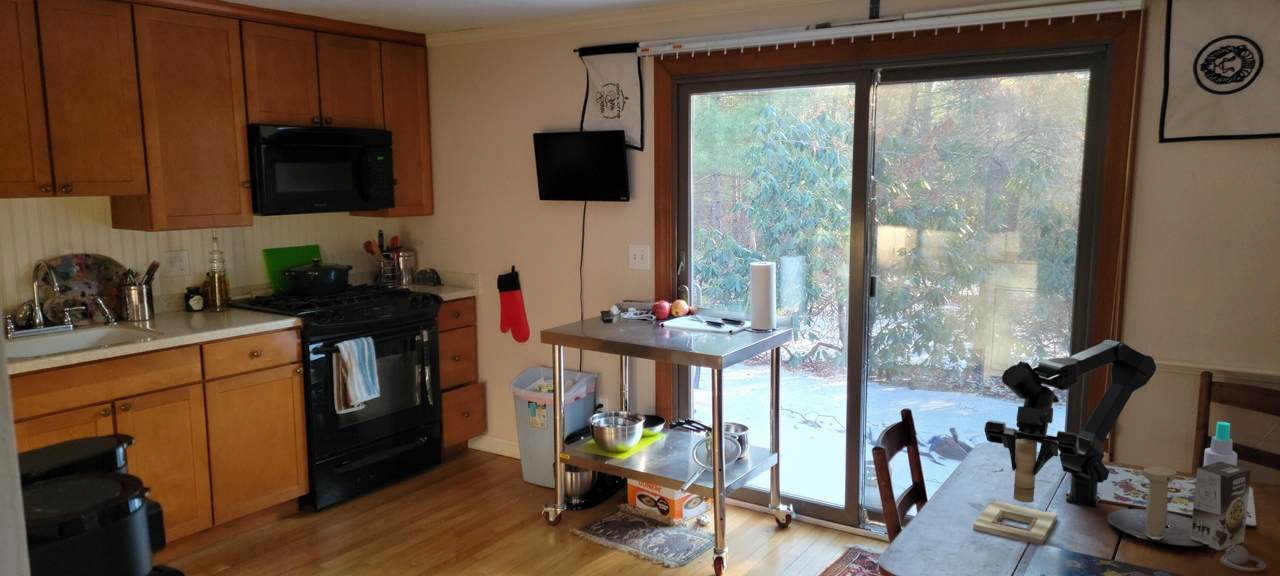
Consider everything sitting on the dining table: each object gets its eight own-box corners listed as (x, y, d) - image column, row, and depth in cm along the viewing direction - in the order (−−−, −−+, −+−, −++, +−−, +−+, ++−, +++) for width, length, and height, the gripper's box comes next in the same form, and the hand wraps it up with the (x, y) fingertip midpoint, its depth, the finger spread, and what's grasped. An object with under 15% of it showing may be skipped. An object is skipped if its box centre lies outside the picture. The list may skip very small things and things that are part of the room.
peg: (1015, 493, 193) (1018, 437, 191) (1035, 497, 191) (1039, 440, 189) (1011, 500, 190) (1015, 442, 188) (1031, 504, 187) (1035, 446, 185)
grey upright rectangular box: (1220, 551, 180) (1227, 476, 177) (1188, 539, 185) (1195, 467, 183) (1245, 542, 184) (1252, 469, 181) (1213, 530, 189) (1220, 459, 187)
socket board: (991, 505, 204) (992, 499, 204) (1056, 519, 196) (1057, 513, 196) (973, 529, 191) (973, 523, 191) (1041, 544, 183) (1042, 538, 183)
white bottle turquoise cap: (1218, 524, 192) (1228, 428, 189) (1192, 514, 198) (1201, 421, 195) (1237, 520, 195) (1246, 425, 191) (1210, 510, 200) (1219, 418, 197)
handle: (1176, 541, 184) (1182, 474, 182) (1149, 544, 183) (1155, 476, 181) (1158, 532, 189) (1164, 466, 187) (1132, 534, 188) (1138, 468, 186)
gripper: (988, 385, 195) (973, 446, 188) (1080, 397, 185) (1069, 462, 177) (994, 410, 203) (980, 470, 195) (1083, 423, 192) (1072, 487, 185)
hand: (1024, 471), depth 188 cm, fingers closed on peg, 4 cm apart
